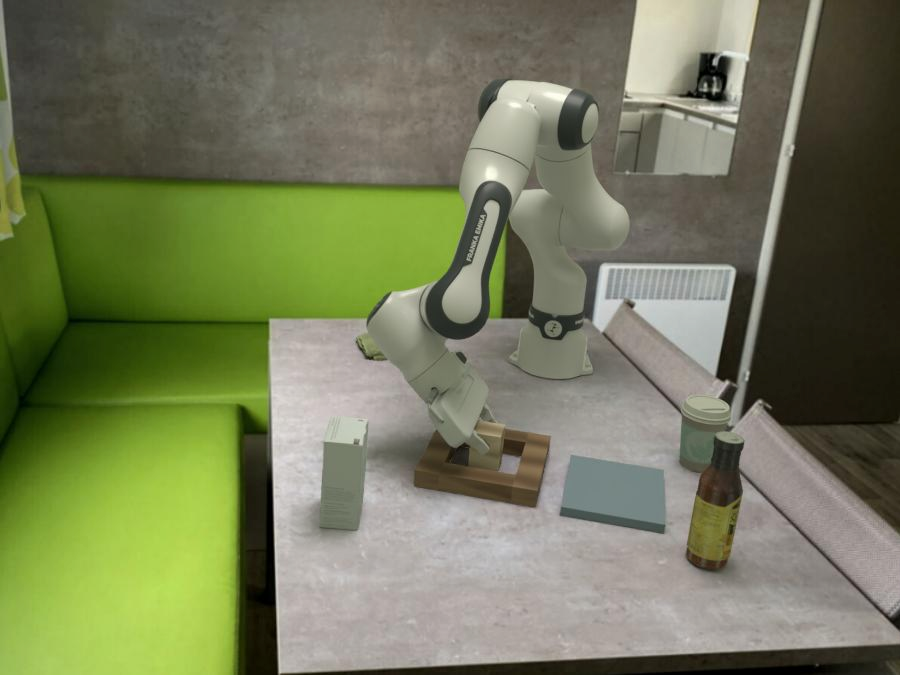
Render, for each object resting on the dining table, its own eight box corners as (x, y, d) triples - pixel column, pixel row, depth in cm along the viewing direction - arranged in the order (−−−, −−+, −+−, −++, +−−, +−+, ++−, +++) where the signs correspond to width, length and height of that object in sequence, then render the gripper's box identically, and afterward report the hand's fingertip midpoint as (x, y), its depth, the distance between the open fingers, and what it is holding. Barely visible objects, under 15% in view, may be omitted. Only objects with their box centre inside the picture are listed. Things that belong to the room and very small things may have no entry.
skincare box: (326, 499, 136) (329, 413, 130) (365, 502, 136) (369, 416, 131) (318, 529, 128) (320, 439, 123) (359, 532, 128) (363, 442, 123)
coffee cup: (668, 469, 153) (680, 407, 149) (674, 449, 161) (685, 389, 156) (718, 480, 151) (731, 418, 146) (722, 459, 158) (734, 399, 154)
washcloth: (353, 342, 201) (353, 329, 200) (425, 338, 207) (426, 325, 206) (366, 363, 190) (367, 350, 188) (443, 358, 195) (444, 345, 194)
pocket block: (440, 433, 160) (441, 418, 159) (549, 450, 156) (550, 435, 155) (413, 486, 141) (414, 469, 140) (535, 507, 138) (537, 490, 137)
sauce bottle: (729, 575, 124) (757, 452, 118) (685, 567, 125) (709, 445, 119) (725, 550, 131) (751, 431, 124) (683, 543, 132) (706, 424, 125)
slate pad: (569, 462, 153) (570, 454, 152) (662, 477, 150) (663, 469, 150) (560, 514, 136) (561, 506, 136) (663, 533, 134) (665, 524, 133)
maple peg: (473, 458, 152) (476, 420, 149) (501, 463, 151) (505, 424, 148) (467, 472, 147) (471, 432, 144) (496, 477, 146) (500, 437, 144)
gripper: (438, 392, 134) (495, 458, 136) (464, 347, 153) (513, 406, 155) (409, 413, 137) (465, 478, 139) (438, 366, 156) (487, 424, 157)
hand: (491, 439), depth 147 cm, fingers open, 7 cm apart
